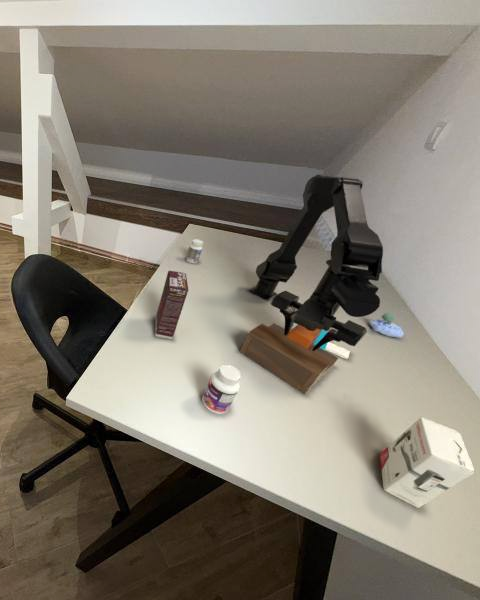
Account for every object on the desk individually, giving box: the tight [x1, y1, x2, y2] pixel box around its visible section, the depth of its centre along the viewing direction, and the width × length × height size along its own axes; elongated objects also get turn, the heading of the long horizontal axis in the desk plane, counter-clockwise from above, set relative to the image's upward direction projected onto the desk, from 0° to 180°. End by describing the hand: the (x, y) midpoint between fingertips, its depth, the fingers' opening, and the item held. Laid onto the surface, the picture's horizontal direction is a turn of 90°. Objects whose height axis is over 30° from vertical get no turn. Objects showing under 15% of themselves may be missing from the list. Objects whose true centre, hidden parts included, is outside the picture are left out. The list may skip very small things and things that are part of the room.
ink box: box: [379, 416, 475, 509], centre depth 52 cm, size 9×5×12 cm, turn 145°
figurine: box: [369, 312, 405, 339], centre depth 91 cm, size 8×7×7 cm
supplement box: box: [154, 270, 189, 340], centre depth 81 cm, size 9×5×16 cm, turn 168°
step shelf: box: [239, 323, 339, 395], centre depth 77 cm, size 16×16×7 cm
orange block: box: [287, 324, 322, 349], centre depth 78 cm, size 7×4×5 cm, turn 126°
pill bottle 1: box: [185, 238, 204, 264], centre depth 121 cm, size 5×5×8 cm
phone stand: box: [314, 329, 351, 360], centre depth 84 cm, size 20×12×2 cm, turn 136°
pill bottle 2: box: [201, 364, 242, 415], centre depth 63 cm, size 5×5×10 cm
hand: (299, 342), depth 79 cm, fingers open, 6 cm apart
